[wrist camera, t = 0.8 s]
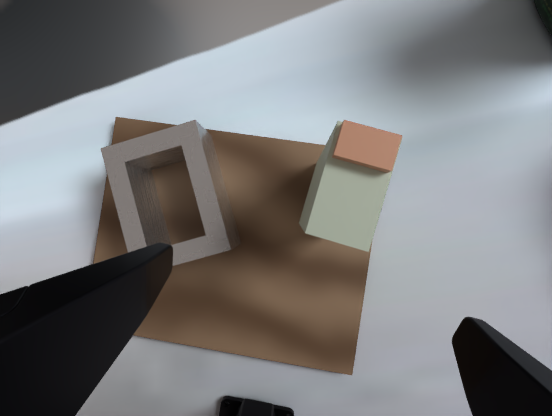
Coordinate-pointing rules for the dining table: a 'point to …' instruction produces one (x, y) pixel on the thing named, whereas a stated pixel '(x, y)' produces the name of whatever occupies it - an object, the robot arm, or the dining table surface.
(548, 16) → the coffee jar
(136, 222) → the keyed slot
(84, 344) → the robot arm
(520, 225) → the dining table surface
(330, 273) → the walnut board
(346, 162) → the keyed peg
